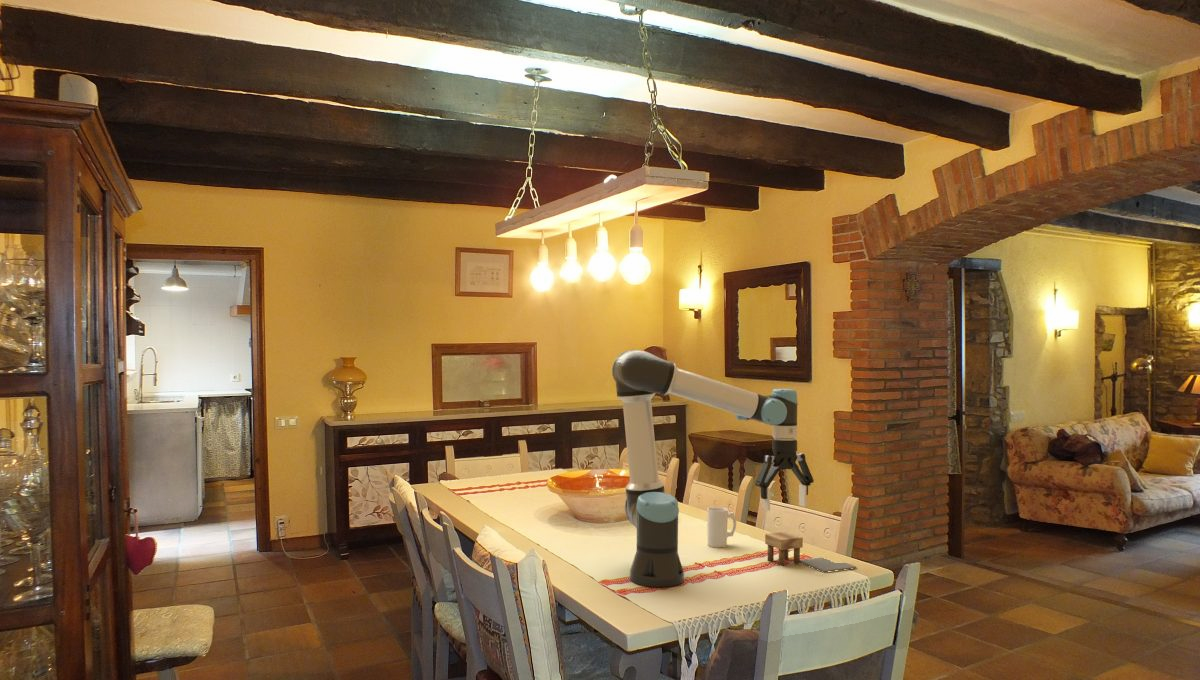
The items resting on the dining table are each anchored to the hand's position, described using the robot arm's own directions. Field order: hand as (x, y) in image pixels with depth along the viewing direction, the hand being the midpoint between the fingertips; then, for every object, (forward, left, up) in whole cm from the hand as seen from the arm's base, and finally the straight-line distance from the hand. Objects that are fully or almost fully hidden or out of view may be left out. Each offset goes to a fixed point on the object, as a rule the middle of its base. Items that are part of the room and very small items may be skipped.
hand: (784, 507), depth 234 cm
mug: (-7, +24, -17) cm, 30 cm away
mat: (+10, -8, -17) cm, 21 cm away
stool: (0, 0, -17) cm, 17 cm away
